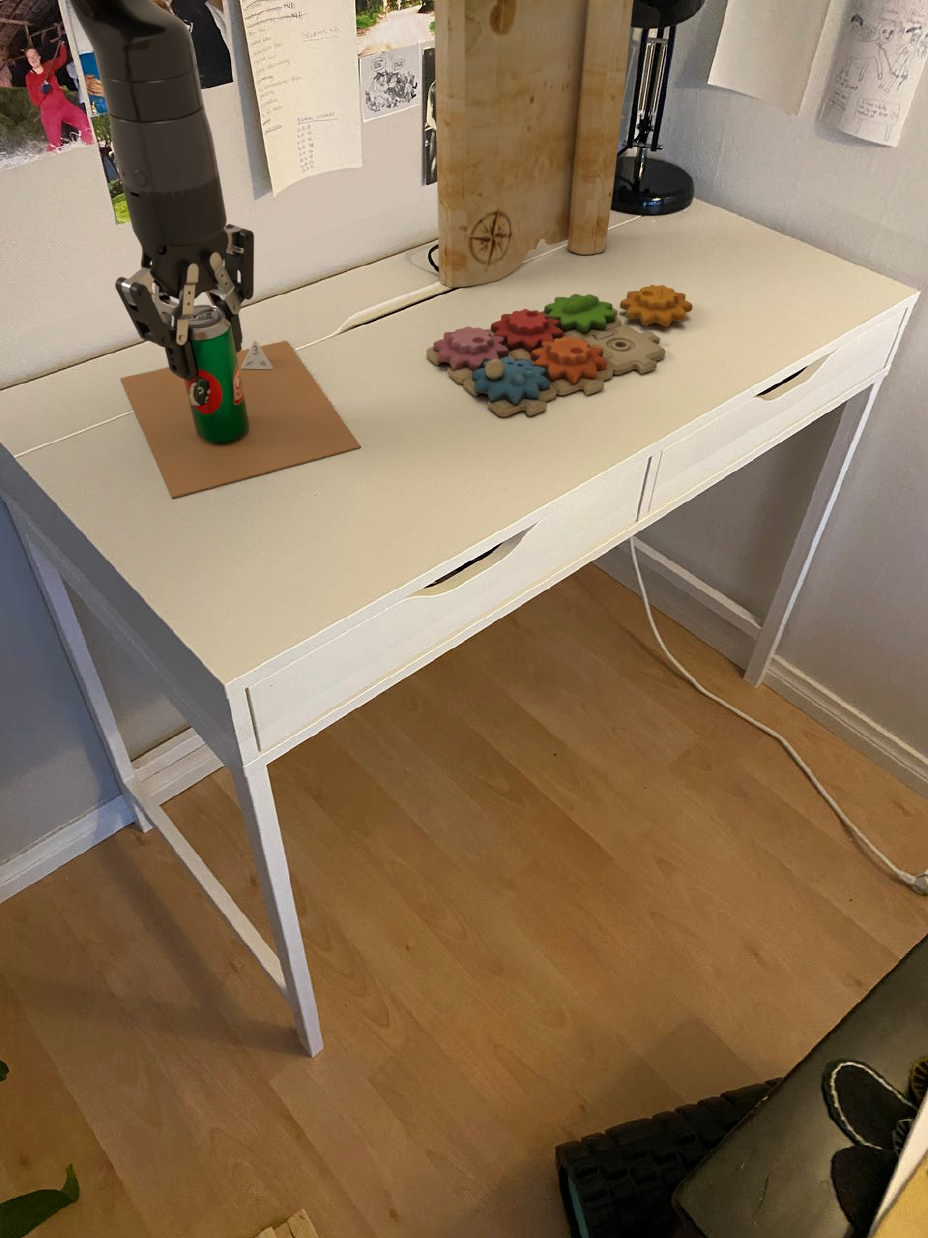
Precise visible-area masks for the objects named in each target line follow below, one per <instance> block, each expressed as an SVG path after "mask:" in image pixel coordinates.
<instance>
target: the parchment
mask: <svg viewBox="0 0 928 1238" xmlns="http://www.w3.org/2000/svg"><path fill="white" fill-rule="evenodd" d="M433 3H434V63H435V64H434V68H435V71H434V72H435V74H434V75H435V114H436V115H435V123H436V124H435V125H436V126H435V127H436V129H435V130H436V181H437V182H436V184H437V189H436V190H437V237H438V241H437V243H438V277H439V280H440V284H442V285H445V286H447V287H449V288H451V289H452V288H463V287H470V286H471V287H472V286H478V285H484V284H487V283H491V282H495V281H498V280H501V279H503V278H504V277H507V276H508V275H510V274H512V273H513V272H514V271H516V269H517V268H518V267H519V266H521V264H522V263H523V262H524V261H525V259H526V256H527V255H528V254H529V252H530V251H534V250H536V249H537V247H538V245H539V243H540V242H541V241H542V240H544V243H545V244H546V245H548V246H551V245H555V244H559V243H562V242H565V241H567V247H566V249H567V250H569V251H570V252H571V253H574V254H577V255H593V254H594V255H595V254H598V253H603V252H604V250H605V249H606V247H607V239H608V232H609V231H608V230H609V224H610V217H611V216H610V215H611V208H612V200H613V192H614V183H615V176H616V166H617V158H618V151H619V150H618V149H619V139H620V131H621V121H622V113H623V103H624V95H625V86H626V77H627V67H628V59H629V58H628V57H629V47H630V36H631V27H632V26H631V25H632V16H633V6H634V0H434V2H433Z"/></svg>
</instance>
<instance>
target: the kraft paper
mask: <svg viewBox="0 0 928 1238" xmlns="http://www.w3.org/2000/svg"><path fill="white" fill-rule="evenodd" d="M259 346H260V348H261V349H262V351H263V353H264V354H265V356H266V357H267V359H268V361H269V362H270V364H271V365H272V367H273V368H274V369H273V370H261V369H241V367H242V365H243V363H244V360H245V358H246V356H247V354H248V352H249V350H250V348H248V349H247V348H246V349H242V350H241V351H239V352H238V353H236V354H237V359H238V365H239V370H240V376H241V381H242V387H243V392H244V398H245V403H246V409H247V414H248V420H249V427H248V429H247V431H246V432H245V434H244V435H243V436H242V437H241V438H239V439H238V440H236V441H233V442H230V443H225V444H215V443H210V442H208V441H206V440H204V439H202V438H201V437H200V436H199V435H198V434H197V433H196V429H195V425H194V421H193V416H192V412H191V408H190V403H189V399H188V395H187V390H186V386H185V382H184V379H183V378H180V377H178V376H177V375H176V374H174V373H172V371H171V370H170V368H169V366H168V367H164V368H159V369H155V370H151V371H146V372H141V373H136V374H133V375H127V376H124V377H120V382H121V384H122V386H123V389H124V391H125V394H126V396H127V398H128V400H129V403H130V405H131V407H132V409H133V412H134V414H135V416H136V418H137V421H138V423H139V426H140V427H141V430H142V432H143V434H144V437H145V439H146V442H147V443H148V446H149V449H150V451H151V453H152V455H153V459H154V460H155V463H156V464H157V467H158V469H159V472H160V473H161V476H162V479H163V481H164V483H165V485H166V487H167V490H168V492H169V494H170V496H171V497H170V498H171V499H173V500H174V499H176V498H182V497H184V496H188V495H192V494H195V493H199V492H203V491H207V490H210V489H214V488H218V487H221V486H225V485H229V484H232V483H236V482H240V481H243V480H247V479H251V478H256V477H259V476H262V475H266V474H269V473H270V474H271V473H273V472H277V471H280V470H285V469H289V468H291V467H295V466H299V465H303V464H306V463H310V462H313V461H317V460H322V459H325V458H329V457H332V456H336V455H340V454H343V453H347V452H351V451H355V450H358V449H359V450H360V449H361V448H362V447H361V444H360V443H359V442H358V441H357V439H356V437H355V436H354V434H353V433H352V431H351V430H350V429H349V427H348V426H347V424H346V423H345V422H344V419H342V417H341V416H340V414H339V413H338V412H337V410H336V409H335V407H334V405H332V403H331V401H330V400H329V399H328V397H327V396H326V395H325V392H324V391H323V390H322V389H321V387H320V385H318V383H317V382H316V380H315V379H314V378H313V376H312V375H311V373H310V371H309V370H308V369H307V367H306V366H305V364H304V363H303V361H302V360H301V359H300V357H299V356H298V354H297V352H295V351H294V349H293V347H292V346H291V344H290V343H289V342H288V340H282V341H278V342H274V343H269V344H266V345H265V344H264V345H259Z"/></svg>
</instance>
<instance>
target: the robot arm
mask: <svg viewBox="0 0 928 1238" xmlns="http://www.w3.org/2000/svg"><path fill="white" fill-rule="evenodd" d="M68 1H69V4H70V6H71V7H72V10H73V12H74V14H75V17H76V18H77V20H78V22H79V24H80V26H81V28H82V30H83V32H84V35H86V37H87V40H88V41H89V45H90V46H91V48H92V51H93V54H94V58H95V62H96V67H97V72H98V75H99V80H100V85H101V89H102V92H103V97H104V101H105V105H106V110H107V113H108V114H107V115H108V119H109V120H108V121H109V127H110V137H111V143H112V150H113V153H114V158H115V161H116V165H117V169H118V175H119V178H120V182H121V187H122V191H123V195H124V198H125V199H124V200H125V203H126V208H127V211H128V215H129V216H128V217H129V221H130V223H131V228H132V231H133V233H134V235H135V237H136V238H137V240H138V242H139V244H140V246H141V260H140V269H139V270H137V271H136V272H135V273H134V274H133V275H132V276H130V278H127V277H124V276H119V277H118V278H117V279H116V280H115V284H114V287H115V289H116V292H117V294H118V295H119V298H120V300H121V302H122V304H123V305H124V308H125V309H126V312H127V314H128V316H129V318H130V319H131V321H132V324H133V325H134V328H135V329H136V331H137V333H138V335H139V337H140V338H141V339H142V340H144V341H148V342H151V343H153V344H156V345H157V346H159V347H161V348H164V351H165V355H166V359H167V363H168V367H169V368H170V370H171V371H172V373H174V374H176V375H177V376H178V377H180V378H183V379H185V380H187V381H192V380H193V379H195V378H197V372H196V367H195V362H194V358H193V353H192V349H191V344H190V341H188V340H187V334H188V320H189V318H190V317H192V316H193V311H194V306H195V300H196V299H198V297H199V296H200V295H201V294H202V293H205V295H206V296H207V298H208V299H209V302H210V304H211V305H213V306H217V307H219V308H221V309H222V310H223V311H224V313H225V317H226V318H227V319H228V320H229V321H230V322H231V326H232V332H233V337H234V343H235V348H236V353H238V352H239V351H242V350H243V348H242V344H243V338H244V337H243V332H242V326H241V321H240V320H241V319H240V314H239V313H241V309H242V303H243V302H244V301H249V300H251V299H252V298H253V296H254V291H255V289H254V287H255V283H254V281H255V280H254V279H255V235H254V234H255V233H254V232H253V231H252V230H250V229H248V228H247V229H246V228H244V227H240V226H238V225H235V224H231V223H228V224H227V222H228V217H227V211H226V207H225V206H226V205H225V201H224V195H223V188H222V183H221V177H220V171H219V165H218V160H217V154H216V147H215V142H214V137H213V132H212V129H211V126H210V123H209V118H208V117H207V113H206V108H205V104H204V98H203V93H202V87H201V82H200V75H199V69H198V64H197V57H196V51H195V47H194V43H193V39H192V35H191V32H190V30H189V28H188V26H187V25H186V23H185V22H184V21H183V20H182V19H180V18H179V17H178V16H176V15H174V14H173V13H171V12H169V11H167V10H166V9H164V8H163V7H161V6H159V5H158V4H156V3H155V2H154V1H153V0H68ZM238 273H239V274H240V279H239V274H238ZM153 283H154V291H153ZM171 298H174V299H176V300H178V302H175V301H173V300H172V299H171ZM172 324H173V325H172Z"/></svg>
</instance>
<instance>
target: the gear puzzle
mask: <svg viewBox="0 0 928 1238" xmlns="http://www.w3.org/2000/svg"><path fill="white" fill-rule="evenodd" d="M693 306H694V305H693V304H692V302H690V301H687V300H686V293H683V292H676V291H675V289H674V288H672V287H671V288H670V287H667V286H666V285H663V284H662V285H655V284H650V285H649V286H643V287H641V288H640V289H639V290H631V291H627V294H626V298H624V299H622V300H621V301H620V303H619V309H621V310H624V311H626V312H625V319H631V320H632V319H633V320H634V319H639V321H640V324H641V325H643V326H648V325H651V324H653V323H657V324H659V325H661V326H664V327H669V325H670V324H671V322H672V321H678V322H684V321H686V320H687V313H690V312H691V311H692V310H693ZM617 316H618V310H617V309H615V308H614V307H613V304H612V303H610V302H607V301H600V299H599V297H598V296H597V295H593V294H591V293H588V294H585V295H581V294H577V293H574V294H572V295H570V296H569V297H566V296H557V297H554V302H551V303H547V304H546V305H544V309H543V311H540V312H539V310H537V309H535V310H529V309H527V308H524V309H521V310H514V311H513V312H512V313H503V314H501V316H500V320H497V321H495V322H492V323H491V324H490V328H488V329H487V328H486V329H483V328H482V327H471V326H465V327H463V328H457V329H455V331H446V332H444V333H443V338H441V339H439V340H436V341H435V342H433V344H432V345H433V346H431V347H428V348H427V349H426V354H425V355H426V358H427V359H428V360H430V361H431V362H432V363H433V364H434V365H436V366H439V365H440V364H442V363H447V364H448V365H450V367H449V368H448V369H447V375H448V376H449V378H451V379H453V381H455V382H456V383H458V384H462V385H463V388H464V389H465V390H467V392H468V393H470V394H471V395H473V396H475V397H477V396H478V395H480V394H486V395H488V399H489V400H487V407H488V409H490V410H491V411H492V412H493V413H494V414H496V415H497V416H498V417H508V416H511V415H513V414H516V413H519V412H521V411H525V413H526V415H527V416H528V417H529V416H534V415H536V414H540V413H541V412H544V411H546V410H547V408H548V403H547V402H548V401H552V400H553V399H555V398H556V397H557V395H559V396H565V395H568V394H571V393H575V392H577V391H580V390H581V391H583V393H584V394H585V395H586V396H587V395H588V396H589V395H591V394H594V393H596V392H599V391H602V390H603V389H604V387H605V382H604V381H606V380H609V379H612V377H613V375H622V374H625V373H627V372H629V371H632V370H637V371H638V373H640V374H646V373H648V372H651V371H653V370H656V369H657V366H658V361H660V360H662V359H663V358H665V355H666V350H665V348H663V347H662V346H661V345H659V344H660V343H661V342H660V341H661V338H660V337H659V336H658V335H656V334H654V333H653V332H651V330H645V331H643V332H642V333H640V332H638V331H637V330H635V329H634V328H633V327H631V326H629V325H627V324H622V321H621V319H619V318H617Z"/></svg>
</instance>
